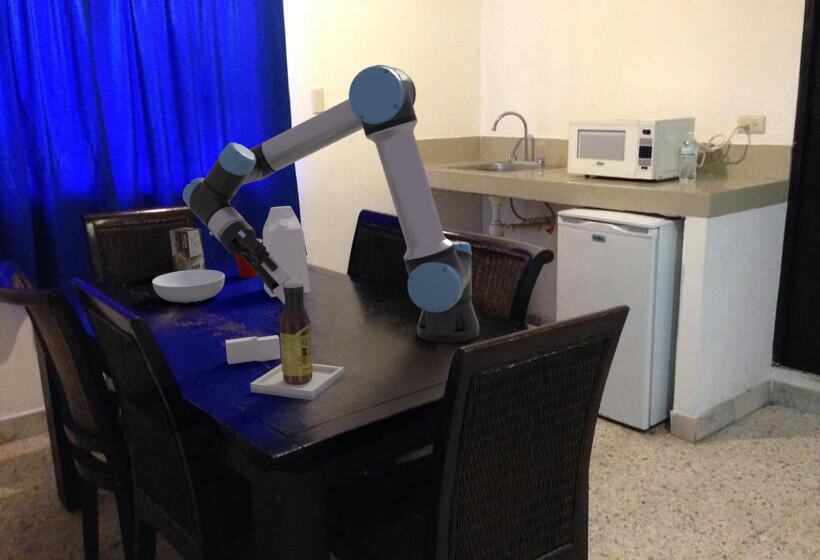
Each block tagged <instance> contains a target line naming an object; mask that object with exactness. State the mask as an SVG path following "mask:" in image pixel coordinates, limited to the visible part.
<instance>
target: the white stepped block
mask: <svg viewBox="0 0 820 560" xmlns="http://www.w3.org/2000/svg"><path fill="white" fill-rule="evenodd" d="M224 341H225V348H226V349H225V350H226V361H227V363H228V365H231V364H240V363H246V362H253V361H256V362H265V361H273V360H279V359H281V343H280V336H278V335H277V334H276V335H267V336H261V337H258V336H249V337H241V338H234V339H225V340H224Z"/></svg>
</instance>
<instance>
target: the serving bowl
mask: <svg viewBox="0 0 820 560" xmlns="http://www.w3.org/2000/svg"><path fill="white" fill-rule="evenodd" d="M225 276H226V275H225V274H224V273H223V272H221V271H219V270H213V269H205V270H187V271H179V272H174V271H173V272H169V273H164V274H161V275H158V276H156V277H155V278H153V279H152V281H151V285H152V287H153V291H155V293H156V294H157V295H158V296H159V297H160V298H161V299H163V300H165V301H167V302H173V303H178V302H180V303H179V304H191V303H190V302H195V303H199V302H198V301H200V302H203V301H206V300H208V299H211V298H213V297H214V296H217V295H218V293H220V292H221V291H222V289H223V288H224V284H225V279H226V277H225ZM202 300H203V301H202Z"/></svg>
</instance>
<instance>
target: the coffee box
mask: <svg viewBox="0 0 820 560" xmlns="http://www.w3.org/2000/svg"><path fill="white" fill-rule="evenodd" d="M202 233H203V231H202V228H199V227H196V228H195V227H178V228H174V229H169V237H170V247H171V254H172V255H171V256H172V263H173V272H179V271H187V270H206V265H205V264H206V263H205V255H204V245H203V235H202Z"/></svg>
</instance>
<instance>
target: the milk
mask: <svg viewBox="0 0 820 560" xmlns="http://www.w3.org/2000/svg"><path fill="white" fill-rule="evenodd" d="M299 221H300V220H299V219H298V216H297V215H296V214H295V211H294V210H293V208H292V206H290V205H288V206H287V205H285V206H274V207H270V209H269V213H268V215H267V218H266V221H265V223H264V225H263V229H262V245H264V246H265V247H266V249H267V250H266V251H267V252H269V254H270V256H269V257H272V258H273V259H274V260H275V261H276V262H277V263H278V264H279V265H280V266H281V268H282V269H283V270H284V271H285V272H286V273H287V274H288V275H289V276H290V279H289V280H288V281H286V282H285V284H284V285H287V284H302V285H303V288H304V292H303V294H308V293H309V292H310V293H311V285H310V278H309V268H308V260H307V259H308V258H307V252H306V251H307V250H306V243H305V241H306V240H305V234H304V230H303V227H302V225H301V223H300V222H299ZM263 285H264V287H263V289H264V290H265V292H266V293H267V295H269V297H270V298H273V297H274V298H275V297H277V296H276V294H275V293H274V294H273V293H272V292H271V290H270V289H269V288H268V287H267V285H266V284H265V283H264V282H263Z"/></svg>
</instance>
